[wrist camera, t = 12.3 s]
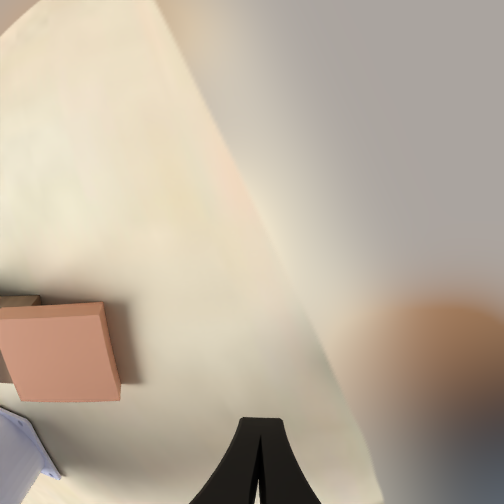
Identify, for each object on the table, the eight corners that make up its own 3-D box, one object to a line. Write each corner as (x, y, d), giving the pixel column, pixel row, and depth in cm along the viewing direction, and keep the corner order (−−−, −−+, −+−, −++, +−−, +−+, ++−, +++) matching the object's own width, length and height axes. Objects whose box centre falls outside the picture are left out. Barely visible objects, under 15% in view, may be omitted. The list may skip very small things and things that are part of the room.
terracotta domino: (120, 383, 16) (27, 385, 14) (103, 301, 14) (1, 307, 13) (120, 400, 14) (21, 400, 12) (99, 314, 13) (-10, 319, 11)
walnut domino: (60, 371, 16) (-13, 367, 14) (39, 295, 15) (-37, 297, 13) (55, 385, 14) (-22, 380, 13) (30, 306, 13) (-48, 307, 12)
